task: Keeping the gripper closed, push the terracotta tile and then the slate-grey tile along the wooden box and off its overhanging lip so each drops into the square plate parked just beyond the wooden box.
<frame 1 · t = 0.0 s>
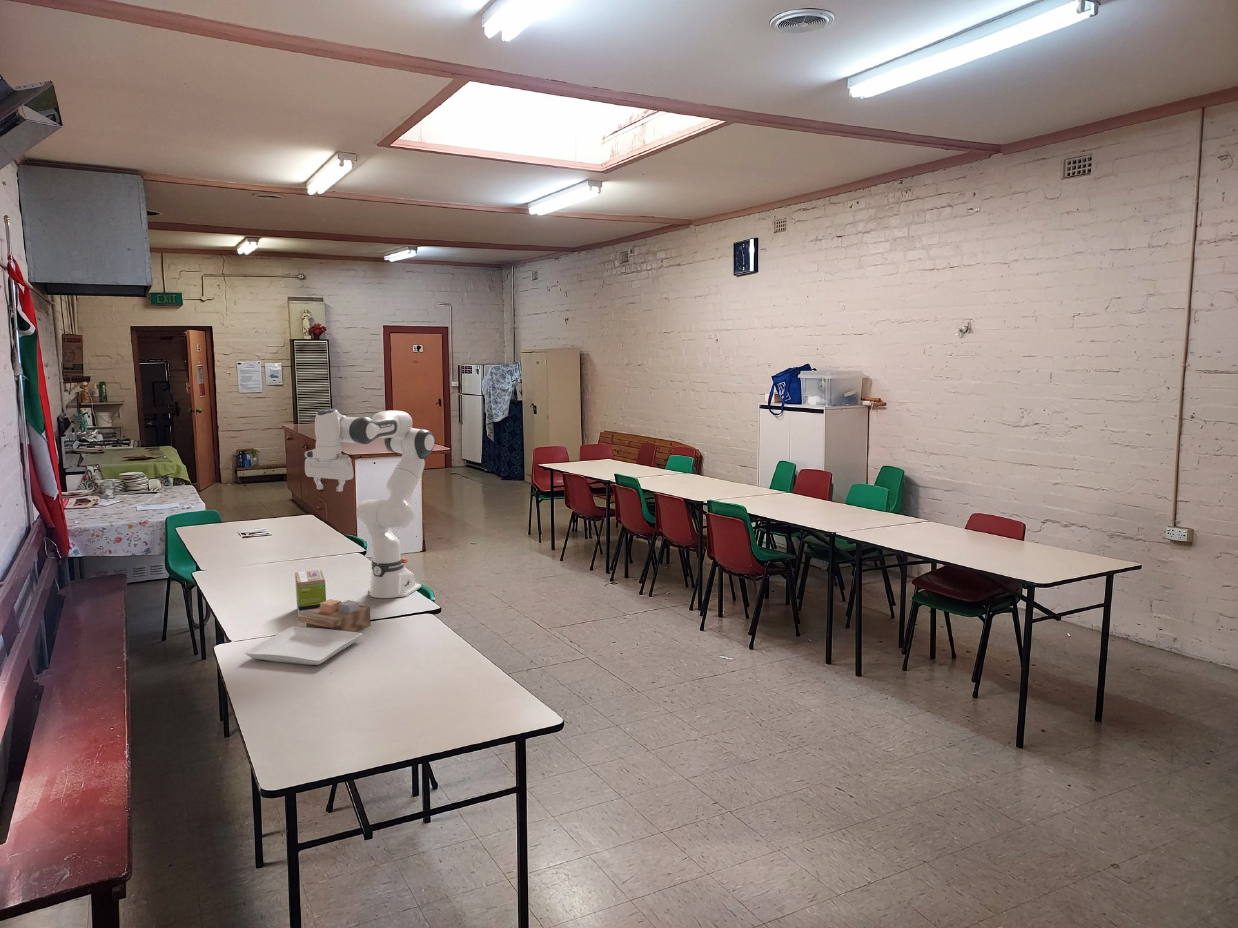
hand: (329, 490, 302), 48 cm above the table, fingers open, 8 cm apart
wooden box: (338, 628, 294), on the table
tile a: (330, 610, 292), point 7 cm above the table, touching wooden box
tea box: (311, 613, 311), on the table
square plate: (306, 652, 271), on the table
tile b: (349, 610, 291), point 7 cm above the table, touching wooden box
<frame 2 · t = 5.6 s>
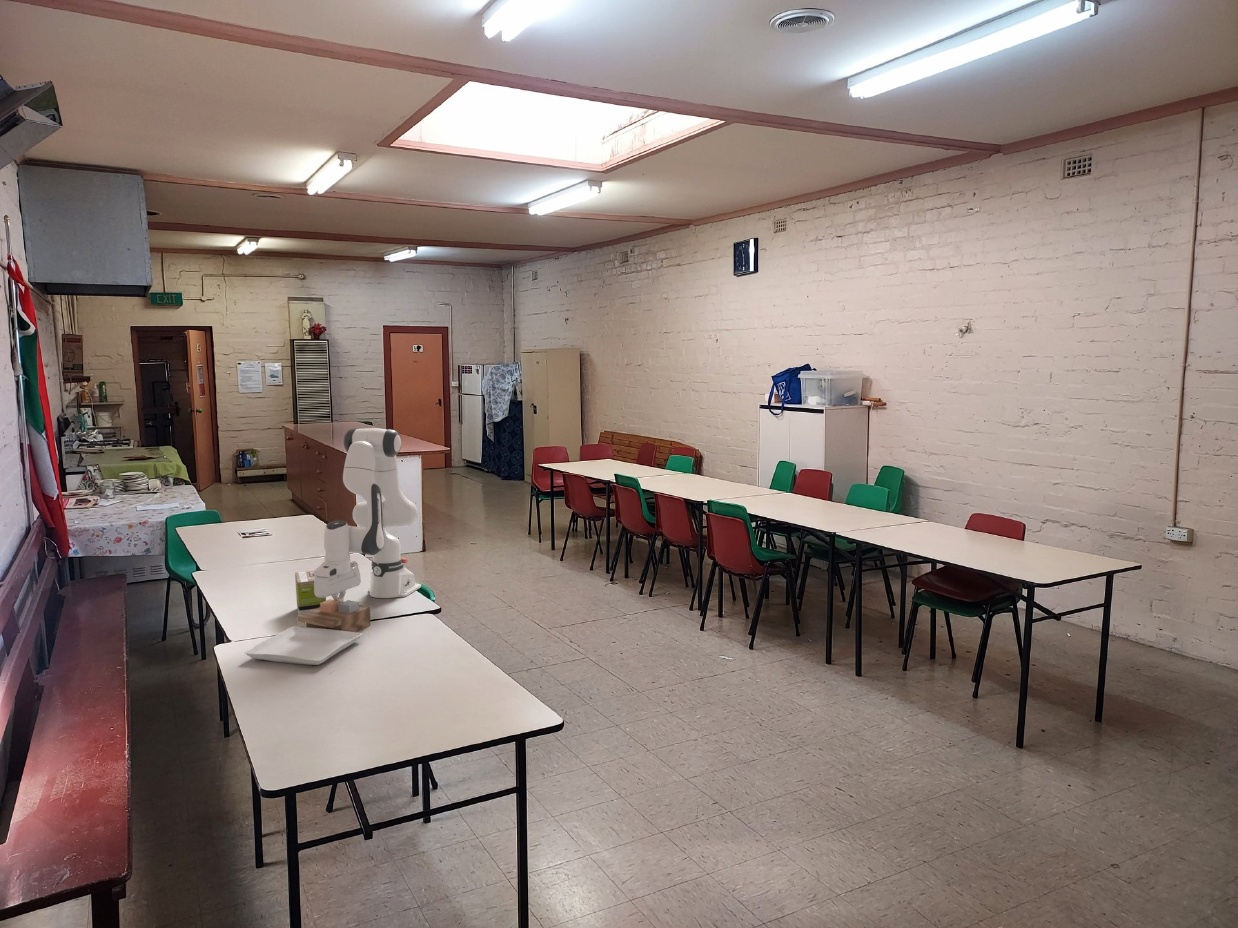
hand: (338, 603, 296), 8 cm above the table, fingers closed
tile a: (330, 610, 292), point 7 cm above the table, touching gripper
everything else where it was.
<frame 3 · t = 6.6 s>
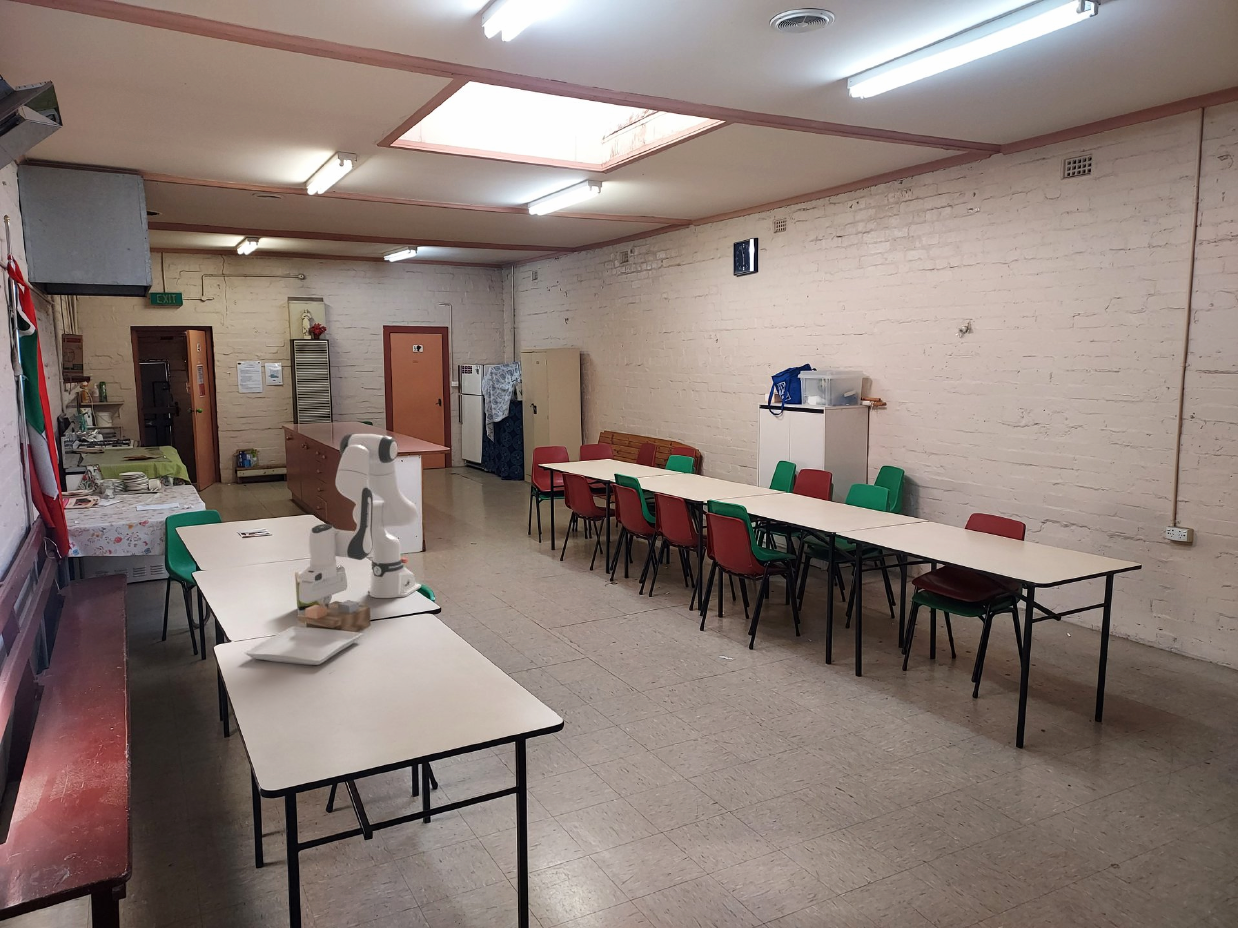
hand: (324, 608, 289), 8 cm above the table, fingers closed
tile a: (316, 615, 286), point 7 cm above the table, touching wooden box, gripper
everything else where it was.
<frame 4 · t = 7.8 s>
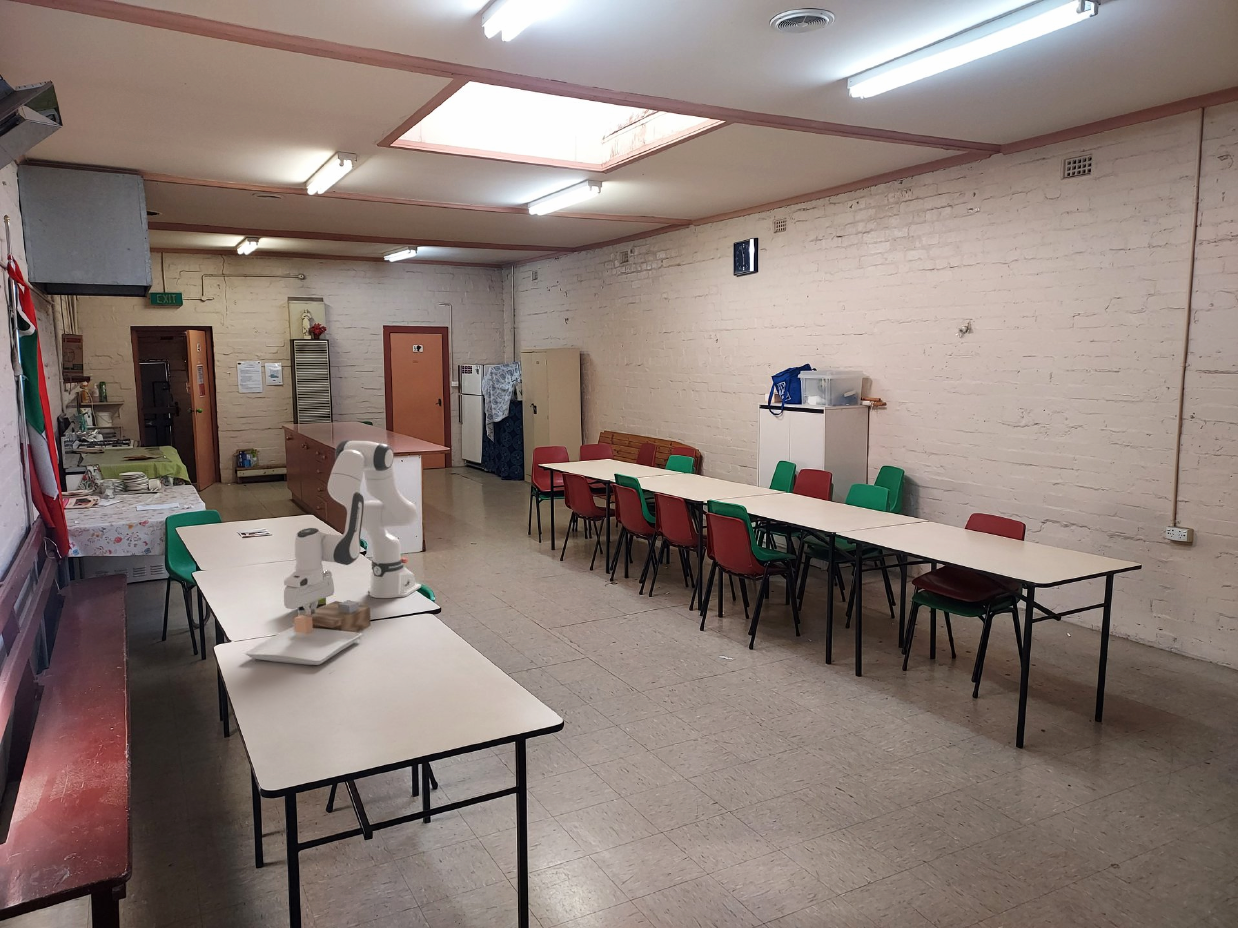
hand: (310, 614, 283), 8 cm above the table, fingers closed
tile a: (306, 623, 281), point 6 cm above the table, tilted 90°, touching square plate
square plate: (306, 653, 271), on the table, touching tile a
everything else where it was.
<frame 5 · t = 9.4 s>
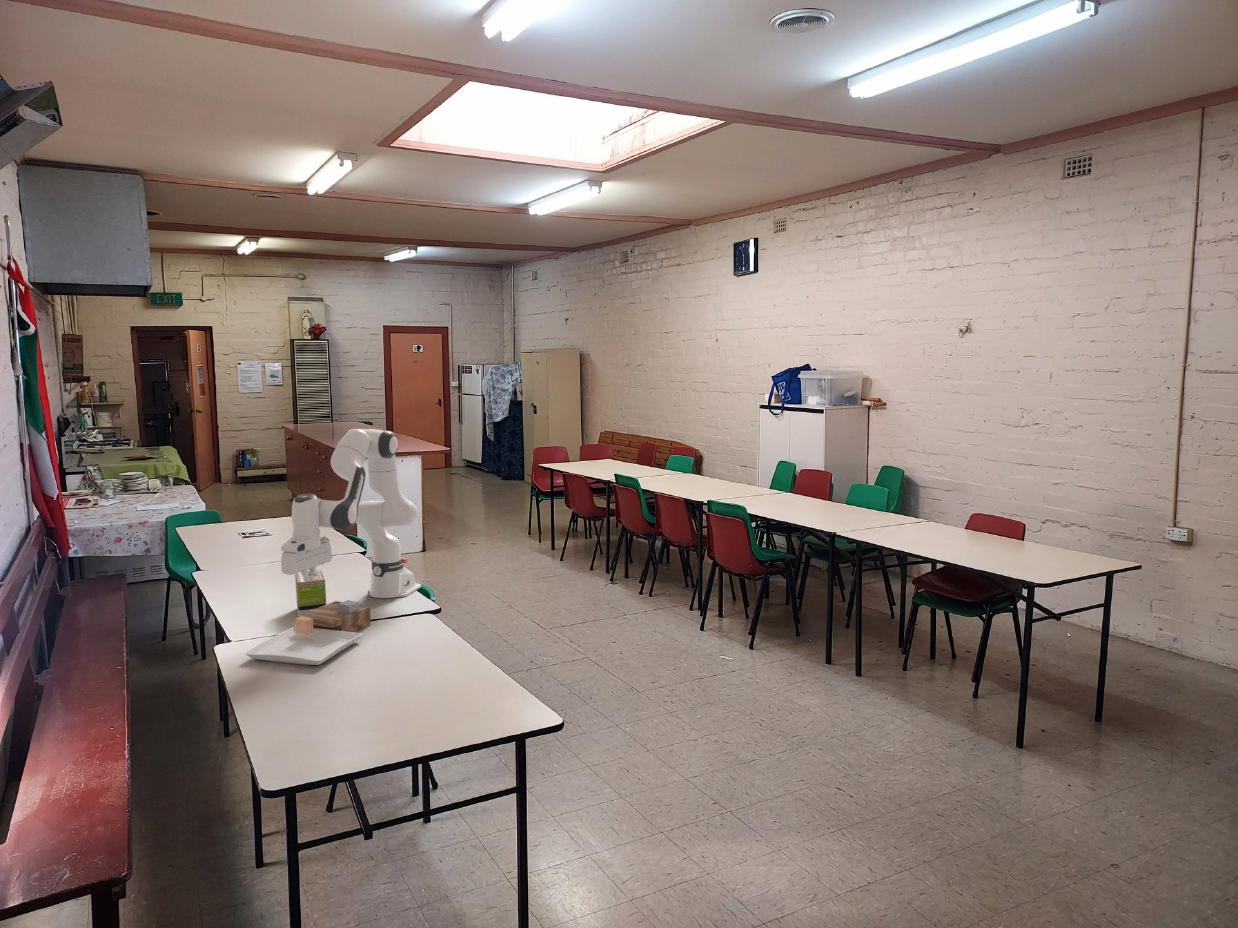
hand: (308, 580, 281), 20 cm above the table, fingers closed
tile a: (307, 624, 280), point 6 cm above the table, tilted 89°, touching square plate
everything else where it was.
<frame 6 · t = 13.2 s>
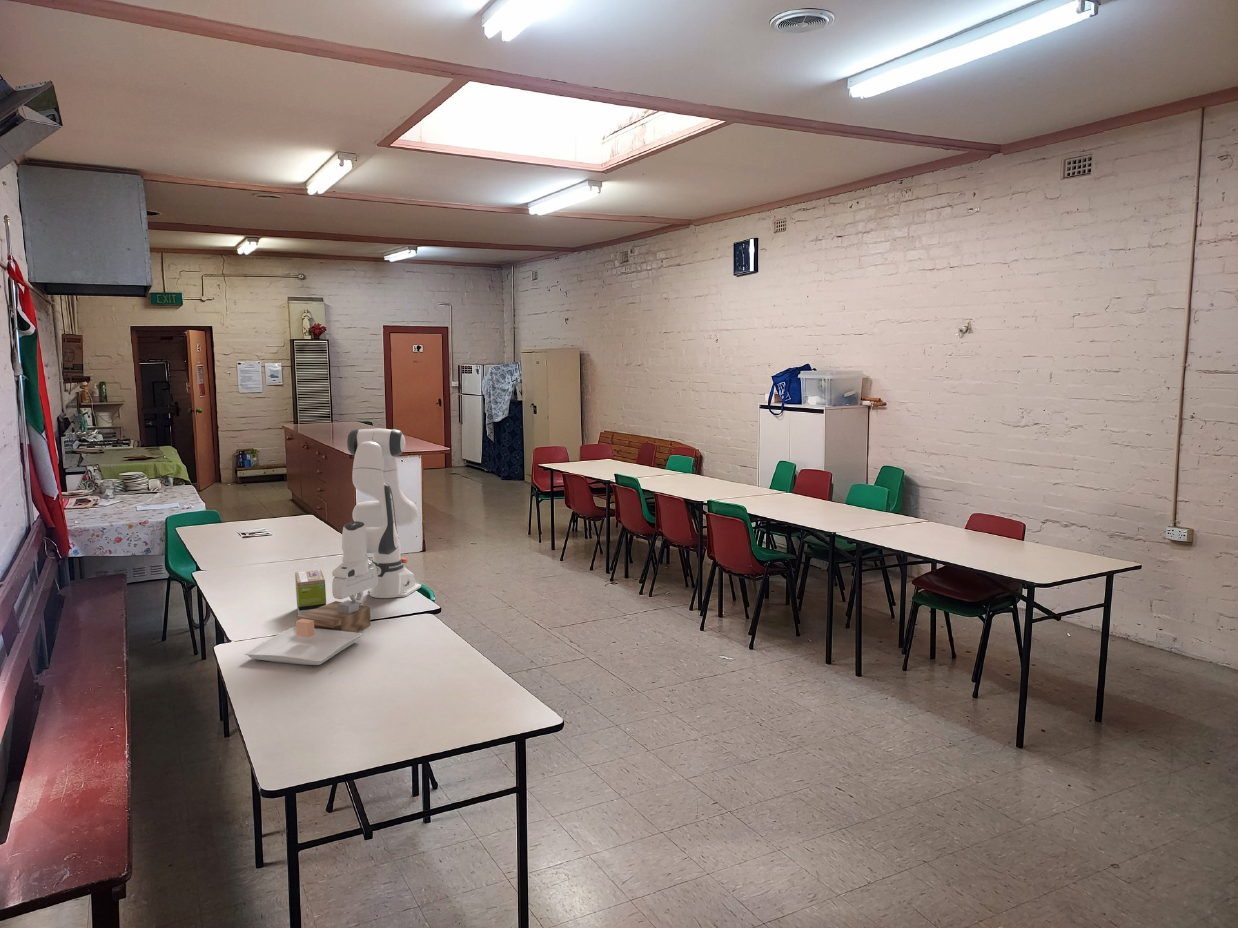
hand: (356, 604, 295), 8 cm above the table, fingers closed
tile a: (308, 626, 278), point 6 cm above the table, tilted 90°, touching square plate
tile b: (348, 611, 291), point 7 cm above the table, touching wooden box, gripper
everything else where it was.
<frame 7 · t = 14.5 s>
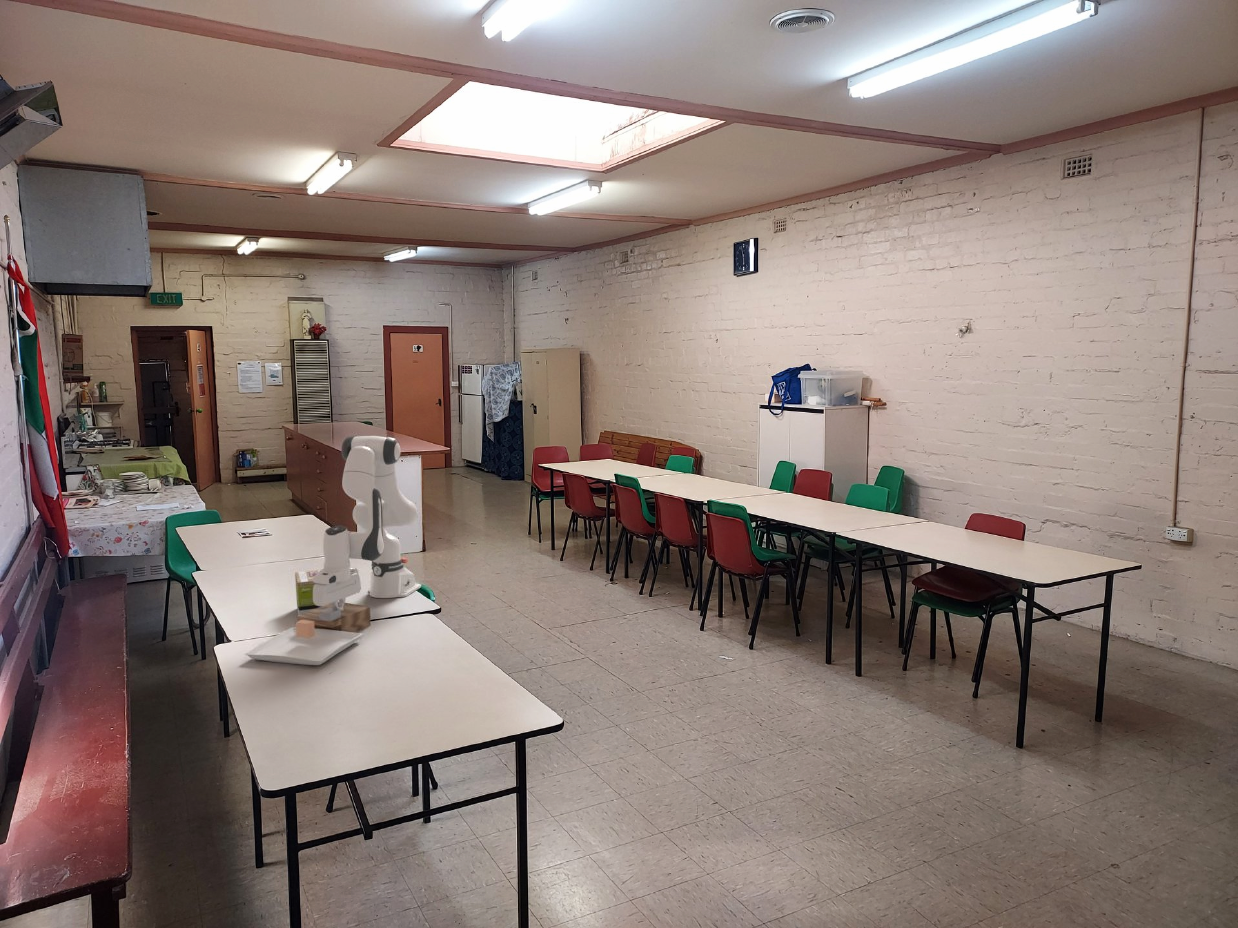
hand: (338, 611, 286), 8 cm above the table, fingers closed
tile b: (330, 618, 283), point 7 cm above the table, touching gripper
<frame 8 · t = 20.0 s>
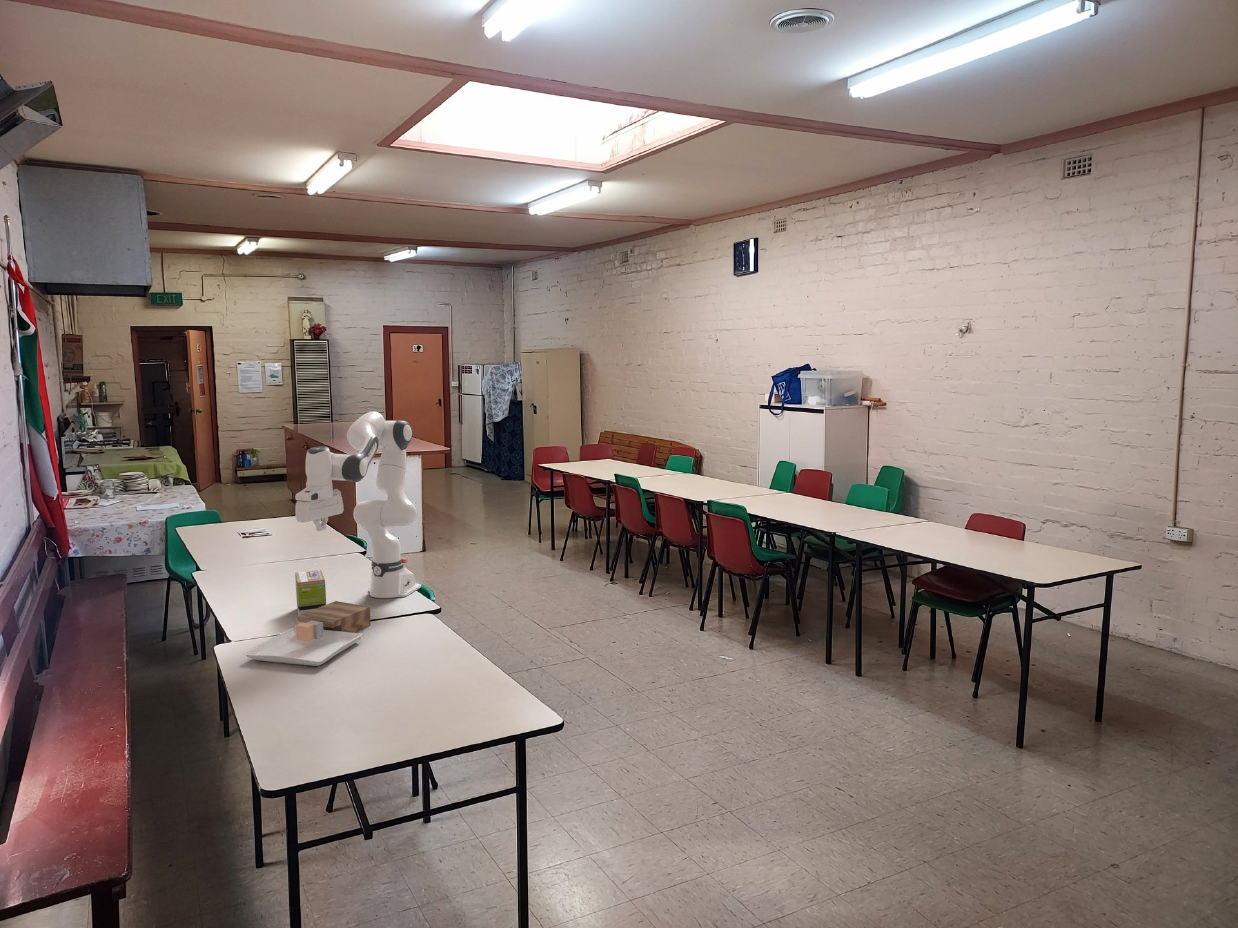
hand: (321, 530, 293), 35 cm above the table, fingers closed
tile a: (308, 630, 274), point 6 cm above the table, tilted 90°, touching square plate
square plate: (306, 653, 271), on the table, touching tile a, tile b
tile b: (317, 628, 276), point 6 cm above the table, tilted 90°, touching square plate
everything else where it was.
at the end: tile a inside the target area on the square plate (4.2 cm from its centre), point 6.6 cm above the square plate's base; tile b inside the target area on the square plate (6.7 cm from its centre), point 6.6 cm above the square plate's base; square plate moved 1.0 cm from its start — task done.
